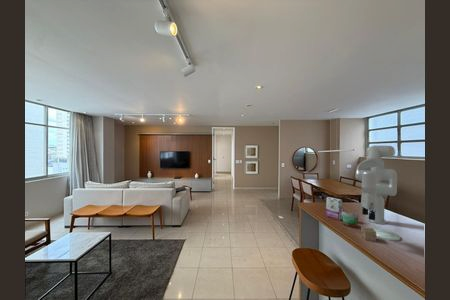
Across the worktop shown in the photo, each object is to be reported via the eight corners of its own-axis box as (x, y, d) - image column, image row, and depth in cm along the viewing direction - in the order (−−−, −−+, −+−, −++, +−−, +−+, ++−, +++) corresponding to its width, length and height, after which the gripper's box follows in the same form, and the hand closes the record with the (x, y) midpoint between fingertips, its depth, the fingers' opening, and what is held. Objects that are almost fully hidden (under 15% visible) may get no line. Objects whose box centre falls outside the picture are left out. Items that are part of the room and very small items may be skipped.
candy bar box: (342, 219, 156) (342, 199, 156) (338, 220, 153) (339, 200, 153) (329, 215, 165) (329, 196, 165) (325, 216, 163) (325, 197, 163)
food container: (337, 223, 148) (337, 210, 148) (342, 222, 150) (343, 209, 150) (353, 229, 136) (353, 215, 136) (359, 228, 139) (359, 214, 139)
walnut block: (361, 235, 127) (361, 227, 127) (371, 237, 125) (371, 228, 125) (364, 240, 121) (364, 230, 121) (375, 241, 120) (376, 231, 120)
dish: (369, 229, 136) (369, 228, 136) (392, 232, 132) (392, 230, 132) (378, 238, 123) (378, 236, 123) (405, 242, 119) (405, 240, 119)
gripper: (357, 187, 132) (356, 212, 132) (367, 193, 116) (367, 221, 116) (369, 188, 130) (369, 213, 130) (382, 194, 113) (382, 222, 113)
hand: (368, 217), depth 123 cm, fingers open, 9 cm apart
